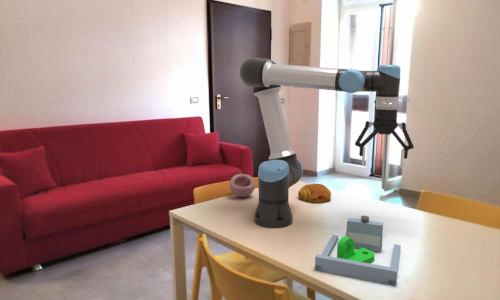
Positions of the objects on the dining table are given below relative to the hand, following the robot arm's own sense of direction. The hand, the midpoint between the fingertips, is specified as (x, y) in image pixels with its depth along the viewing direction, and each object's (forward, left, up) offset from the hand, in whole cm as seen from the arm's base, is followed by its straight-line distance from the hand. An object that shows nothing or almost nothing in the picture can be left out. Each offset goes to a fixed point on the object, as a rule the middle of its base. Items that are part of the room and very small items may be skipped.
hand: (382, 166), depth 138 cm
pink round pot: (-63, +12, -23) cm, 69 cm away
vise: (-2, -32, -23) cm, 40 cm away
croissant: (-30, +22, -23) cm, 44 cm away
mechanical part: (-3, -34, -23) cm, 41 cm away
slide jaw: (-2, -24, -23) cm, 33 cm away
